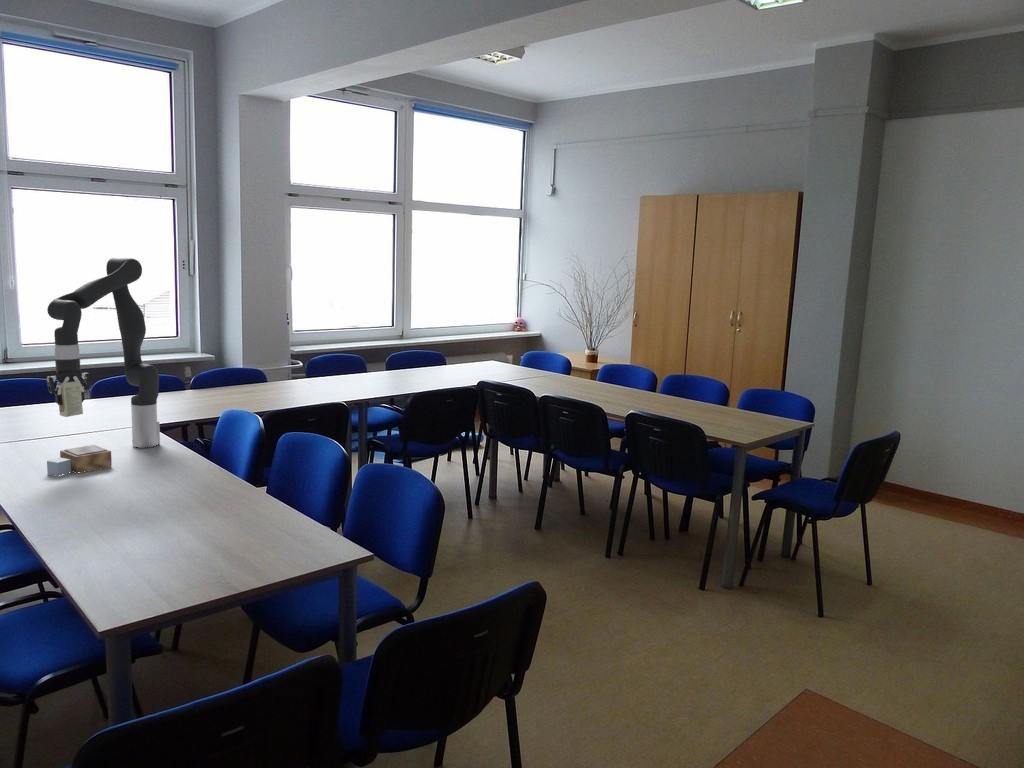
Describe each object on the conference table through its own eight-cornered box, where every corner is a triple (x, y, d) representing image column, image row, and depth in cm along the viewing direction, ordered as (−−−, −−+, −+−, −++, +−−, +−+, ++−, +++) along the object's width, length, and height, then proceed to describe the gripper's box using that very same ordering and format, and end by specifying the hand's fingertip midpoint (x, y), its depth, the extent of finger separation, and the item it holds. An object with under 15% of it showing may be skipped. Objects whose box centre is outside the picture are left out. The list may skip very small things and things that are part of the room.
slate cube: (60, 471, 265) (60, 457, 264) (71, 473, 264) (70, 459, 263) (47, 474, 261) (46, 460, 260) (58, 476, 259) (57, 462, 258)
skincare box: (76, 412, 272) (74, 379, 270) (83, 414, 270) (81, 380, 268) (58, 415, 267) (56, 381, 265) (64, 417, 265) (62, 383, 262)
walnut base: (95, 460, 280) (94, 444, 278) (111, 467, 273) (111, 449, 272) (60, 467, 270) (59, 449, 269) (77, 473, 263) (76, 455, 262)
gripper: (84, 354, 273) (86, 399, 276) (40, 357, 261) (43, 404, 264) (93, 356, 268) (96, 402, 271) (49, 360, 257) (53, 408, 260)
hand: (70, 403), depth 268 cm, fingers closed on skincare box, 6 cm apart
